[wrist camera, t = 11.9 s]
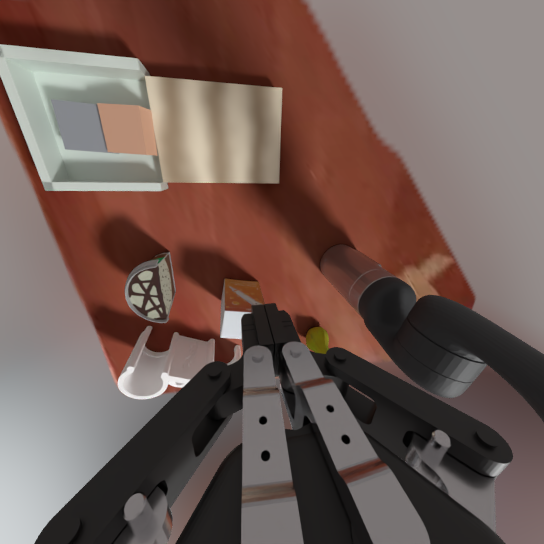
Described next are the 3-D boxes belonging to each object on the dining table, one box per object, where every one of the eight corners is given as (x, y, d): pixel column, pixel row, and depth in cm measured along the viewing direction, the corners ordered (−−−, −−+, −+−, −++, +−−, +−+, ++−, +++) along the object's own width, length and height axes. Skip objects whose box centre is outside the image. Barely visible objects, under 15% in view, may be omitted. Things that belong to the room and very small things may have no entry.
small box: (258, 280, 52) (268, 313, 41) (254, 303, 55) (262, 340, 43) (223, 277, 50) (224, 310, 39) (220, 301, 53) (219, 339, 41)
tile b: (110, 109, 34) (100, 104, 31) (119, 153, 37) (111, 152, 34) (64, 104, 33) (50, 99, 30) (77, 150, 35) (65, 149, 33)
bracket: (133, 352, 54) (111, 398, 44) (145, 321, 51) (124, 362, 41) (229, 371, 63) (230, 413, 52) (243, 345, 60) (248, 385, 49)
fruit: (313, 343, 65) (330, 378, 54) (298, 335, 62) (313, 369, 52) (328, 327, 63) (349, 360, 53) (313, 318, 61) (332, 351, 50)
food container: (135, 245, 44) (112, 265, 35) (168, 244, 45) (155, 264, 36) (147, 298, 49) (130, 328, 40) (176, 296, 50) (166, 325, 41)
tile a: (151, 110, 33) (138, 105, 30) (157, 155, 36) (146, 154, 33) (112, 108, 33) (96, 103, 31) (121, 153, 36) (108, 152, 33)
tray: (149, 72, 34) (137, 58, 29) (168, 188, 41) (161, 190, 36) (21, 60, 31) (-13, 42, 26) (66, 187, 38) (45, 190, 33)
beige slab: (278, 93, 38) (282, 88, 35) (275, 182, 44) (279, 183, 41) (150, 82, 34) (144, 75, 31) (167, 181, 40) (163, 182, 37)
